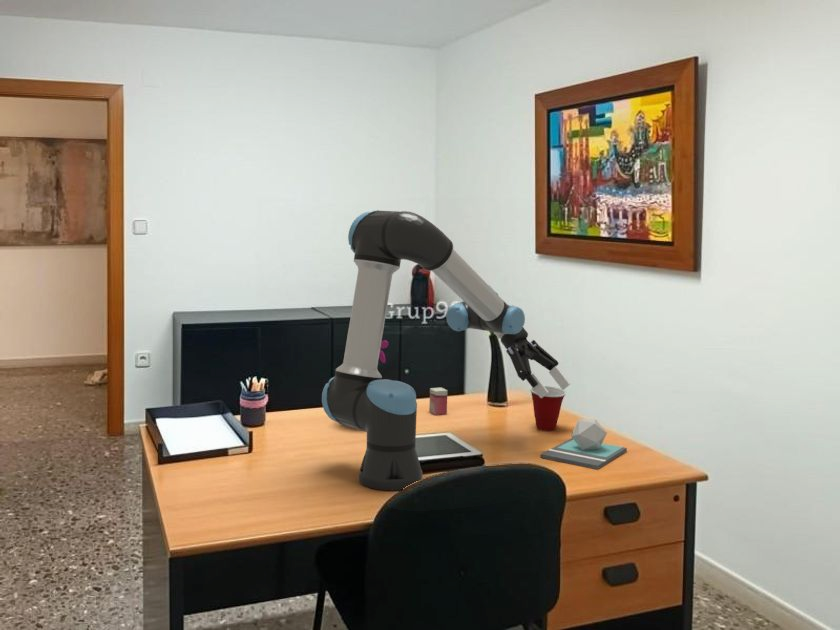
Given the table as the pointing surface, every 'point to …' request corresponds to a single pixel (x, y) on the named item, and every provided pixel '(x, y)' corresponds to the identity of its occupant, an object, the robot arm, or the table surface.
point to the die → (589, 434)
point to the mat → (583, 454)
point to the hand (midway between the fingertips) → (556, 391)
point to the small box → (438, 401)
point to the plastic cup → (547, 408)
